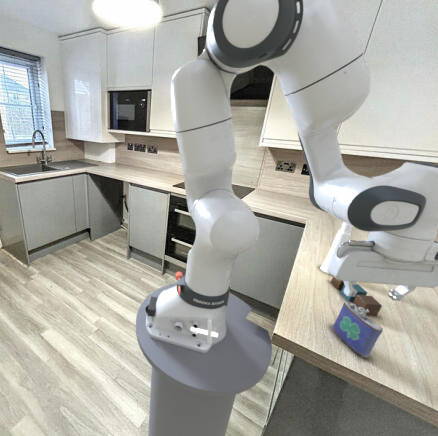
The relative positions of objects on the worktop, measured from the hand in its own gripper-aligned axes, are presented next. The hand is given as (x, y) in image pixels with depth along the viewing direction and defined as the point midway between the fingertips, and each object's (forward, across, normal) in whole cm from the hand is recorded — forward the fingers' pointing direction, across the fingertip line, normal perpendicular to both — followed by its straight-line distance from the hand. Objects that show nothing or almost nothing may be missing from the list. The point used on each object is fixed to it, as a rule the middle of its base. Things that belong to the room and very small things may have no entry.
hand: (371, 296), depth 53 cm
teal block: (+14, +11, +18) cm, 26 cm away
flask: (+14, 0, 0) cm, 14 cm away
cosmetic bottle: (+15, +14, +33) cm, 39 cm away
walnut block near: (+14, +12, +12) cm, 22 cm away
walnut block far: (+14, +12, +24) cm, 30 cm away
